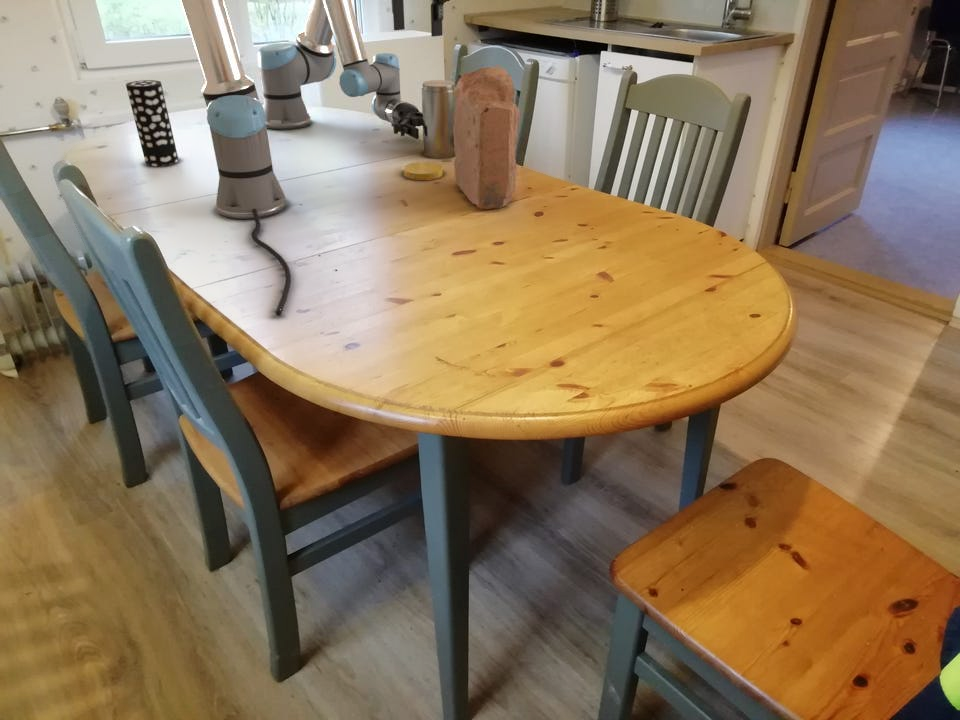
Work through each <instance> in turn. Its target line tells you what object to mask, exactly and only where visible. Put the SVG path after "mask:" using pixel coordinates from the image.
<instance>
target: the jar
mask: <svg viewBox="0 0 960 720" xmlns="http://www.w3.org/2000/svg"><path fill="white" fill-rule="evenodd" d="M421 85H422V87H421V113H422V116H423V126H422V142H423V146H422V147H423V155H424V156H425V157H428V158H432V159H449V158H452V157H456V154H455V151H454V133H453V125H454V116H455V109H456V101H455V98H454V90H455V87H456V83H455V82H454V81H453V80H446V79H445V80H444V79H433V80H426V81H423V82H422V84H421Z"/></svg>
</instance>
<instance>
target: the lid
mask: <svg viewBox="0 0 960 720" xmlns="http://www.w3.org/2000/svg"><path fill="white" fill-rule="evenodd" d="M443 174H444V168H443V166H442V164H441V165H440V164H439V163H435V162H430V161H419V162H412V163H408V164H406V165H405V166H404V167H403V176H404V177H405V178H407V179H410V180H415V181H431V180H435V179H438V178H441V177H442V176H443Z"/></svg>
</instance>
